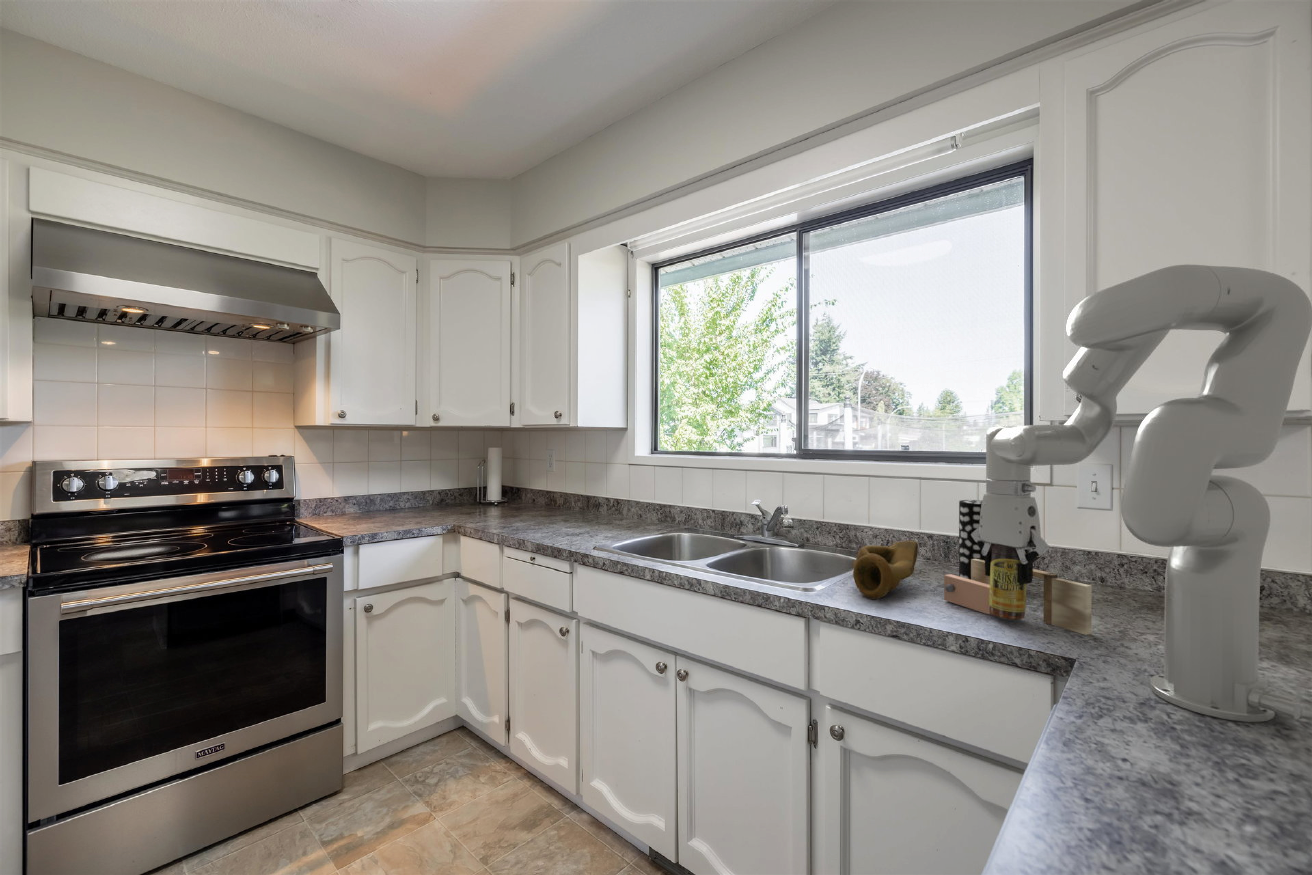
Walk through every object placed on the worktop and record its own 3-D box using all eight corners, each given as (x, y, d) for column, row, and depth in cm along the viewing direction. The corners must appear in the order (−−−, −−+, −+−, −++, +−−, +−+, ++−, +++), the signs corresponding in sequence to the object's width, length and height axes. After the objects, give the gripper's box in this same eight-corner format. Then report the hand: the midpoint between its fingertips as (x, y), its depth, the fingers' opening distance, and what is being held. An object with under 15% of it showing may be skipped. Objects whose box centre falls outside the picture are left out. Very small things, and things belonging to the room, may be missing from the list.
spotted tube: (996, 589, 137) (996, 505, 136) (957, 584, 141) (957, 502, 141) (998, 581, 144) (998, 501, 143) (960, 577, 148) (960, 499, 148)
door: (996, 613, 118) (996, 586, 118) (985, 615, 117) (985, 588, 117) (950, 598, 129) (950, 574, 128) (940, 600, 127) (940, 575, 127)
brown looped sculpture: (959, 559, 136) (898, 555, 125) (937, 608, 138) (876, 607, 127) (897, 524, 151) (838, 517, 140) (878, 568, 154) (820, 565, 143)
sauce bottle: (989, 618, 114) (988, 517, 114) (988, 609, 119) (987, 513, 119) (1029, 623, 111) (1028, 519, 111) (1026, 614, 116) (1025, 515, 116)
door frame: (1092, 633, 107) (1092, 582, 107) (1085, 635, 107) (1085, 583, 106) (976, 598, 130) (976, 555, 129) (970, 599, 129) (970, 556, 129)
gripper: (1065, 491, 108) (1065, 587, 108) (982, 484, 124) (982, 567, 124) (1038, 493, 105) (1038, 592, 105) (956, 485, 121) (956, 571, 121)
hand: (1008, 578), depth 115 cm, fingers closed on sauce bottle, 6 cm apart
